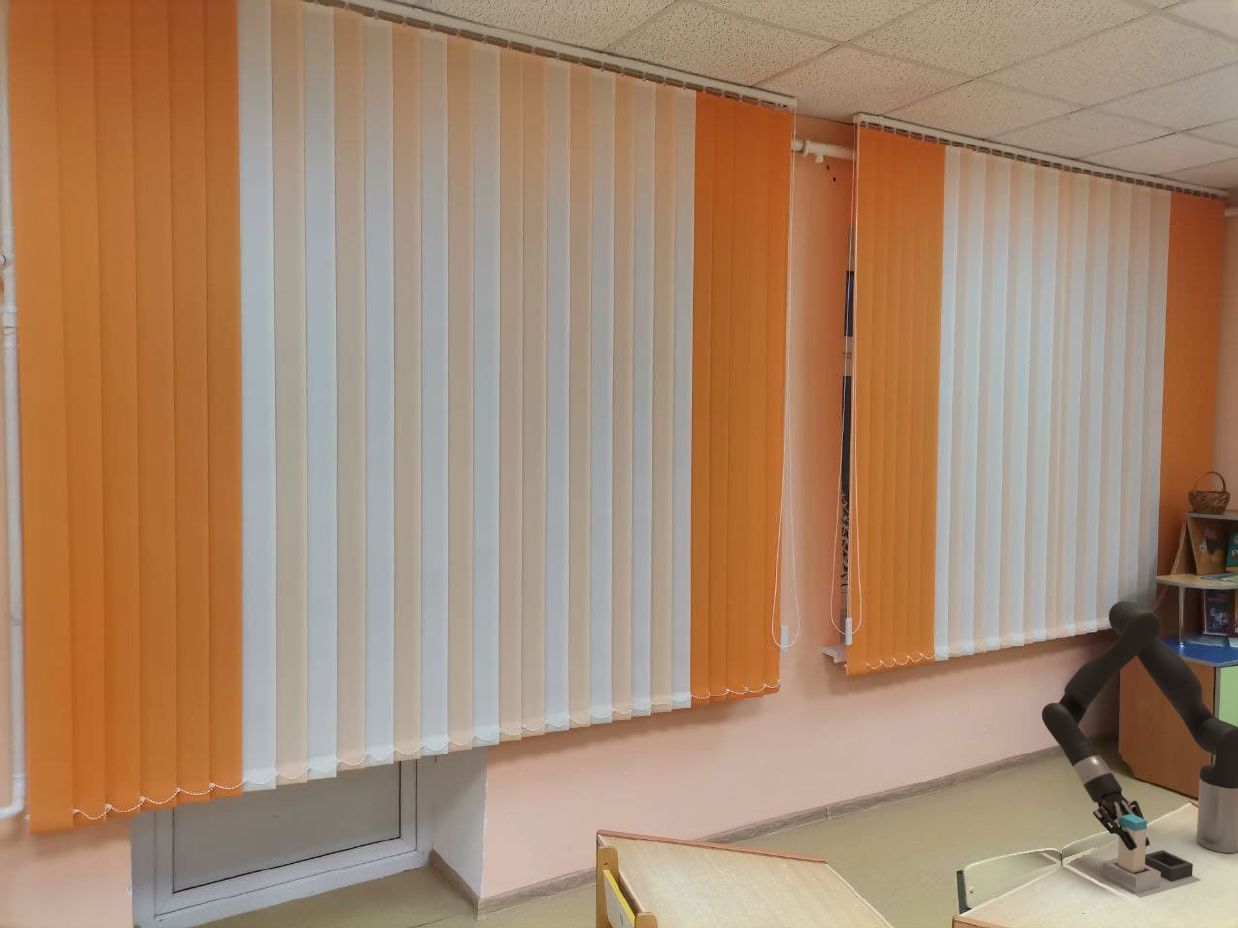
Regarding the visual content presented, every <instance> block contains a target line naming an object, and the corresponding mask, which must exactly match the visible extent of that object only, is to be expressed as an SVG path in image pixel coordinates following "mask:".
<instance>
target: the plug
mask: <svg viewBox="0 0 1238 928" xmlns="http://www.w3.org/2000/svg"><path fill="white" fill-rule="evenodd" d="M1121 818H1122V819H1123V824H1124V825H1125V827H1126V829H1127V831H1126V832H1129V834H1130V836H1131V837H1132V839H1133V840H1134V842H1135V843H1136V845H1137V848H1135V849H1134V850H1129V849H1128V848H1127V847H1126V846H1125V844H1124V843H1123V841H1122V839H1121V838H1120V836H1119V835H1118V849H1117V851H1118V855H1117V858H1118V865H1119V866H1121V867H1123V868H1125V869H1127V870H1129V871H1131V872H1133V873H1134V872H1138V871H1142V870H1144V869H1145V855H1146V847H1147V846H1146V836H1147V832H1148V831H1147V830H1148V828H1147V827H1148V821H1147V820H1146V819H1145V818H1144V819H1142V818H1140V817H1138V816H1135V815H1133V814H1128V815H1124V816H1121Z"/></svg>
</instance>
